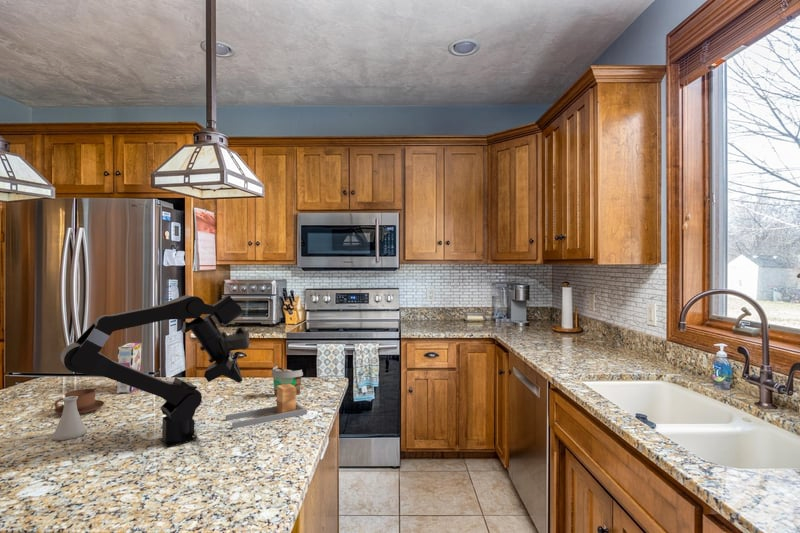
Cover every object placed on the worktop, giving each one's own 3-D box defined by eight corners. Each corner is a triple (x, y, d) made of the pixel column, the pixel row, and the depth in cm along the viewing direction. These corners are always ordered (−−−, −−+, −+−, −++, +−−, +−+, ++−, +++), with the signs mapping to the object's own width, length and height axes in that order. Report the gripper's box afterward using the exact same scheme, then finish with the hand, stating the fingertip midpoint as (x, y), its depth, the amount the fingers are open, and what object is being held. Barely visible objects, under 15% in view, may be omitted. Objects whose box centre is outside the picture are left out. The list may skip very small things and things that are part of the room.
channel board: (233, 434, 111) (233, 423, 111) (225, 424, 118) (225, 414, 119) (307, 419, 123) (307, 409, 123) (296, 411, 131) (296, 402, 131)
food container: (262, 398, 144) (263, 369, 144) (275, 393, 149) (276, 365, 149) (290, 403, 138) (290, 373, 138) (302, 398, 143) (303, 369, 144)
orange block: (282, 417, 121) (282, 389, 121) (276, 412, 125) (276, 385, 125) (295, 414, 123) (295, 387, 123) (289, 409, 127) (289, 383, 127)
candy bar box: (132, 393, 148) (133, 347, 148) (115, 394, 146) (116, 347, 147) (141, 385, 158) (142, 342, 159) (126, 386, 157) (127, 342, 157)
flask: (45, 442, 105) (46, 402, 105) (60, 432, 112) (61, 394, 112) (79, 439, 107) (79, 400, 107) (91, 429, 114) (92, 392, 114)
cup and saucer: (72, 421, 120) (73, 399, 121) (45, 416, 124) (45, 395, 124) (113, 408, 132) (113, 389, 132) (86, 404, 136) (87, 385, 136)
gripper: (229, 335, 104) (262, 384, 108) (243, 311, 122) (270, 353, 126) (188, 356, 103) (223, 404, 108) (208, 328, 121) (237, 371, 125)
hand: (240, 381), depth 117 cm, fingers closed
